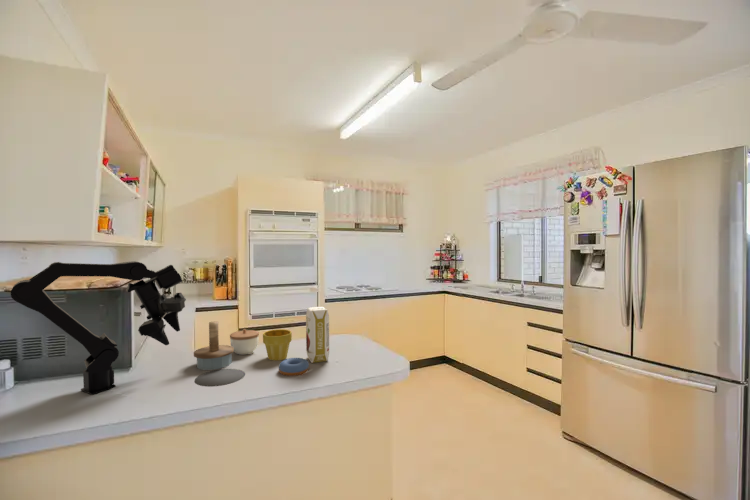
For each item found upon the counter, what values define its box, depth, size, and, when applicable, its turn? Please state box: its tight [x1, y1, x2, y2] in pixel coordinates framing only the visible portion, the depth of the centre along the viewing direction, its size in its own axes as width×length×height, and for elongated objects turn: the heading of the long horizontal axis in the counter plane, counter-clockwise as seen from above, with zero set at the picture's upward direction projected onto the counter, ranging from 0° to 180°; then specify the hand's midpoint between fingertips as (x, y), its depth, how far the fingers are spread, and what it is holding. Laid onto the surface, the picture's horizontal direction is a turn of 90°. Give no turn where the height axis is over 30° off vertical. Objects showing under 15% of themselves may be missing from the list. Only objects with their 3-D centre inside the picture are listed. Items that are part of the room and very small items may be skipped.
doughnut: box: [278, 357, 310, 377], centre depth 123 cm, size 10×10×5 cm
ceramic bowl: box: [196, 353, 233, 371], centre depth 130 cm, size 11×11×4 cm
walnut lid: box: [193, 321, 235, 359], centre depth 129 cm, size 13×13×11 cm
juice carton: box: [305, 306, 330, 364], centre depth 136 cm, size 8×9×19 cm
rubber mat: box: [194, 368, 246, 388], centre depth 118 cm, size 15×15×1 cm
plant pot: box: [262, 328, 293, 361], centre depth 137 cm, size 10×10×10 cm
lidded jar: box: [229, 328, 260, 355], centre depth 144 cm, size 11×11×9 cm
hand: (173, 337), depth 123 cm, fingers open, 9 cm apart
